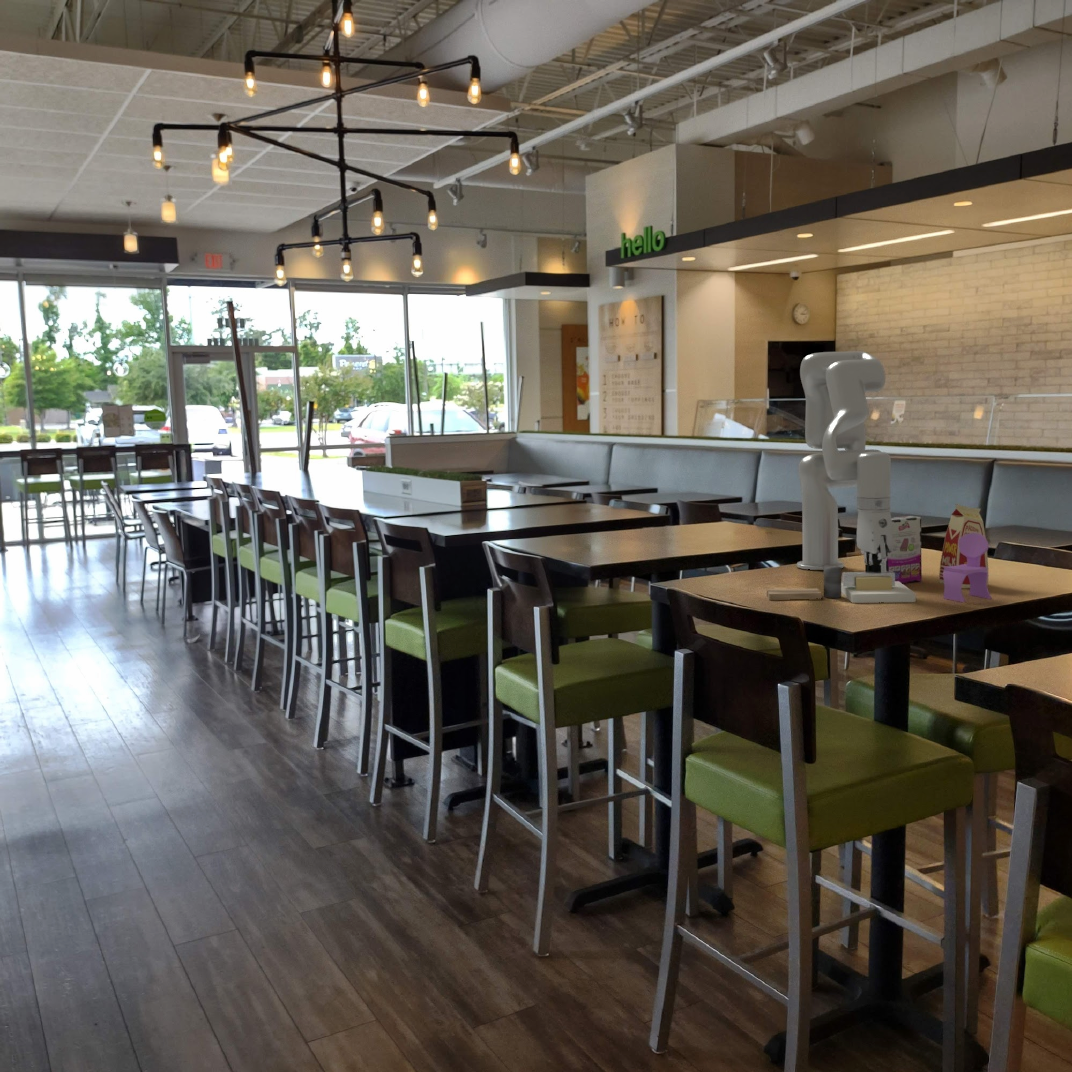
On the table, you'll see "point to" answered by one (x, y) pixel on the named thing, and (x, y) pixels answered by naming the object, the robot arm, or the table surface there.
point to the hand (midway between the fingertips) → (873, 580)
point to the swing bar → (850, 577)
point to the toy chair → (968, 569)
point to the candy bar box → (905, 550)
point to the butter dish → (877, 591)
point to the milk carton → (959, 526)
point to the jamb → (830, 589)
